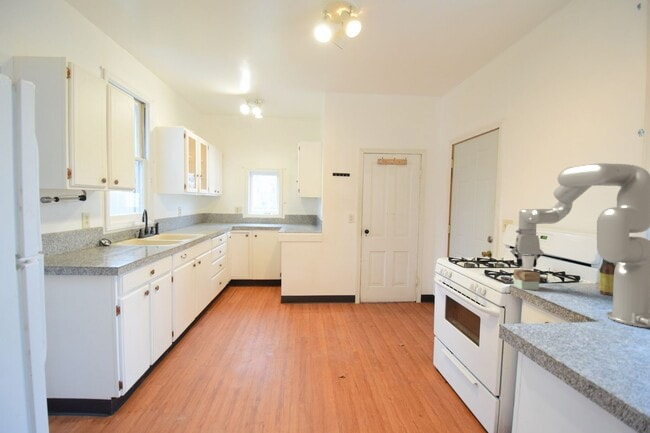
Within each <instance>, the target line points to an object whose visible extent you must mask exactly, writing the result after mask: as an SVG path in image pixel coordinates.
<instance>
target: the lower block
mask: <svg viewBox="0 0 650 433" xmlns="http://www.w3.org/2000/svg"><path fill="white" fill-rule="evenodd" d="M513 285H514V286H515V287H517V288H518V289H521V290H528V291H529V290H530V291H540V282H524V281H521V280H519V279H516V278H514V277H513Z"/></svg>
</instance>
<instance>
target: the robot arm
mask: <svg viewBox="0 0 650 433" xmlns="http://www.w3.org/2000/svg"><path fill="white" fill-rule="evenodd" d="M557 182H558V184H559V186H558V187H556V189H554V191H553V197H554V198H555V199H556V200H558V201H557V203H556V204H555V205H554V206H552V207H551V208H534V209H533V208H531V209H529V208H528V209H525V208H523V209H520V210H519V212H518V230H515V233H517V235H516V238H515V244H514V247H513V248H512V249H511V250H510V253H511V254H512V255H513V256H514V257H515V258H516V266H518V267H519V268H520V267H521V266H522V259H521V257H522V255H523V254H528V255H534V256H535V257H534V264H533V268H536V267H537V264H538V262H537V260H539V258H540V257H541V256H542V255H544V254H545V252H544V251H543V250H542V249H541V246H540V244H541V243H540V238H539V235H537V225H543V224H544V225H545V224H547V225H549V224H550V225H551V224H553V225H554V224H556V223H559V222H560V221H562V220H563V219H564V218H565V217H566V216H567V215H569V213H570V212H571V211H572V208H573V203H574V201H575V200H577V199H579V197H581V196H583V194H584V193H585V192H586V191H588V190H589V189H590V188H592V187H594V186H604V187H605V186H608V187H611V186H613V187H614V186H615V187H620V189H619V190H618V193H617V195H616V206H614V207H609V208H606V209H605V210H602V212H601V213H600V214H599V215H598V217H597V220H596V250H597V253H598V255H599V257H600V258H602V260H603V259H604V260H606V261H608V262H611V263H614V264H616V265H615V266H616V267H615V270H614V283H613V296H612V311H608V312H606V317H607V318H608V317H609V318H608V319H610V320H611V321H614V320H615V321H614V322H616V323H621V324H623V323H624V324H623V325H627V324H628V326H632V325H633V327H637V326H638V327H637V328H647V329H649V328H650V240H649V239H648V238H645V237H640V236H630V234H638V233H644V232H646V231H648V230H649V229H650V173H649V171H648V170H646V169H645V168H643V167H641V166H638V165H634V164H626V163H602V162H601V163H592V164H583V165H578V166H576V165H575V166H569V167H567V168H564V169H563V170H561V171H560V172H559V174H558V175H557Z"/></svg>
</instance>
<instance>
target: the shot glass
mask: <svg viewBox="0 0 650 433" xmlns="http://www.w3.org/2000/svg"><path fill="white" fill-rule="evenodd" d="M534 257H535V256H534V255H531V254H523V255H522V257H521V259H522V266H521V267H520V266H519V268H520V269H522V270H533V269H534V267H533V264H534Z"/></svg>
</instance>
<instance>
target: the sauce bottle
mask: <svg viewBox="0 0 650 433" xmlns="http://www.w3.org/2000/svg"><path fill="white" fill-rule="evenodd" d="M615 267H616V265H615V263H611V262H608V261H606V260H604V259H603V258H602V262H601V265H600V268H599V270H598V279H599V280H598V290H599V293H600V294H601V295H602V294H603V295H606V296H612V297H613V283H614V270H615Z"/></svg>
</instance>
